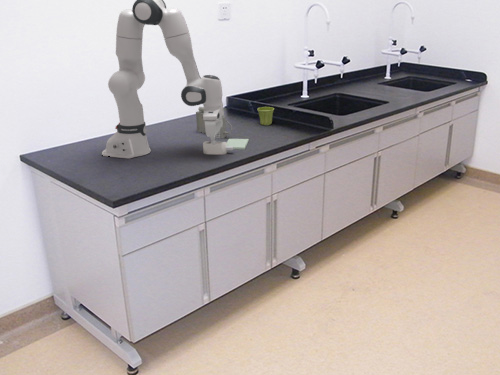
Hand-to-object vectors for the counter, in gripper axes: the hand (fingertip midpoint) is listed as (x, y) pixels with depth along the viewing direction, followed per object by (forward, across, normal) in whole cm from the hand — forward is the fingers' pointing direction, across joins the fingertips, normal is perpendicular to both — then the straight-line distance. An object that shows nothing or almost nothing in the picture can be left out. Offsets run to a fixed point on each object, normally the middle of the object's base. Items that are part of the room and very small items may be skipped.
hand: (215, 141), depth 229 cm
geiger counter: (+6, -30, -7) cm, 31 cm away
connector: (+6, 0, +1) cm, 6 cm away
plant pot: (+6, -53, +17) cm, 56 cm away
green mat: (+6, -13, +7) cm, 16 cm away
